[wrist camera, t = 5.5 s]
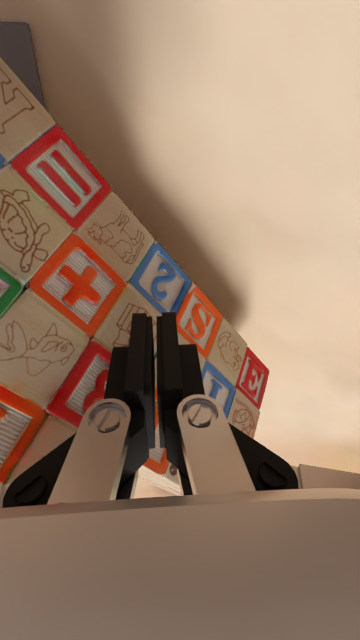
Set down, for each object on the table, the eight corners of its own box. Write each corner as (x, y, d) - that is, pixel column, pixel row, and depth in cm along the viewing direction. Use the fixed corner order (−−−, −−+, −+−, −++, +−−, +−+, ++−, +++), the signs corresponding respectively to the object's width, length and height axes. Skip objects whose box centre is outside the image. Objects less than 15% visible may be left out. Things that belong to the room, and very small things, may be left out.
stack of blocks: (274, 369, 21) (220, 588, 15) (204, 370, 26) (141, 540, 19) (-17, 35, 10) (-627, 320, 4) (-50, 135, 15) (-375, 348, 9)
